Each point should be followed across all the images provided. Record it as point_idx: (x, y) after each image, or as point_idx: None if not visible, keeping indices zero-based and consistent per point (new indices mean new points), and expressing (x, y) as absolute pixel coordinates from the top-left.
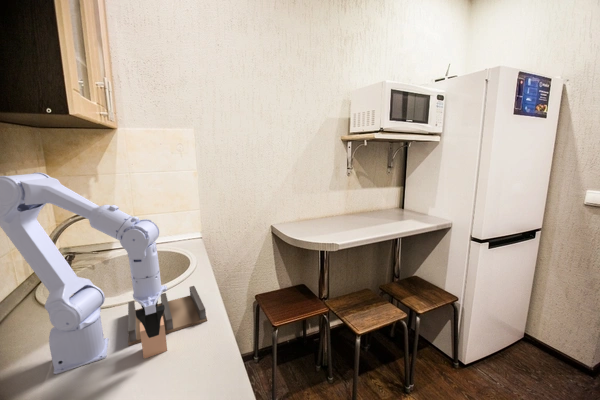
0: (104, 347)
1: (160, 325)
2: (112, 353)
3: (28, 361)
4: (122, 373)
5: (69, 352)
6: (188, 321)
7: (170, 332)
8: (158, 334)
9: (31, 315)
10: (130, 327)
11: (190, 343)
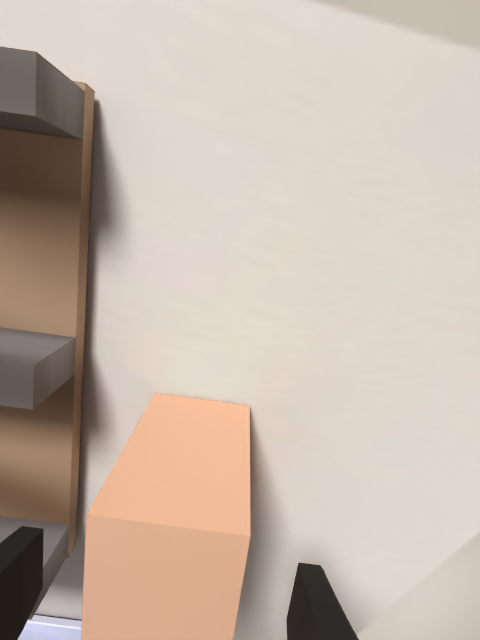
0: (37, 638)
1: (244, 563)
2: None
3: None
4: (268, 584)
5: None
6: (45, 225)
7: (83, 350)
8: (323, 572)
9: None
10: None
11: (269, 281)
